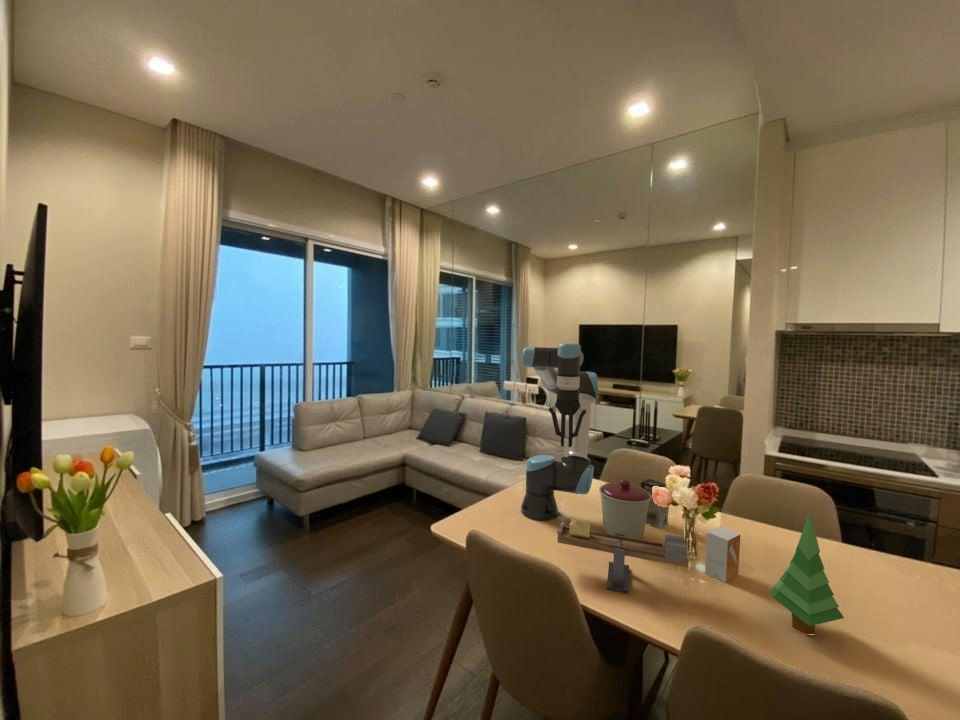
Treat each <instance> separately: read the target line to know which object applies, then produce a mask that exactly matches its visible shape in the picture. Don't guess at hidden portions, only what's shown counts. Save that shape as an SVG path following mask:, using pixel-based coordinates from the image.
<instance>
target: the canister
mask: <svg viewBox="0 0 960 720" xmlns="http://www.w3.org/2000/svg"><path fill="white" fill-rule="evenodd" d="M598 491H599V493H600V499H601V513H602V521H603V528H604V532H605V533H606V534H612V535H615V532H617V533H623V534H625V537H629V538H635V539H640V540H642V538H643V536H644V532H645V528H646V518H647V512H648V506H649V501H650V500H651V498H652V496H651V494H650V493H649V492H648V491H646V490H645V489H644V488H642V487H641V485H640V486H639V485H637V484H634V483H631V481H629V480H628V479H626V478H625V479H621V480H620V481H614V482H608V483H605V484H603V485H600V487H599V489H598Z"/></svg>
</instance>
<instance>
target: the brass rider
mask: <svg viewBox="0 0 960 720" xmlns="http://www.w3.org/2000/svg"><path fill="white" fill-rule="evenodd" d="M591 526H592V522H590V521H583V520H578V519H573V518H572V519H571V520H570V523H569V527H570V529H569V537H574V538H579V539H585V540H590V536H591V531H592V527H591Z"/></svg>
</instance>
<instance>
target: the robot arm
mask: <svg viewBox="0 0 960 720" xmlns="http://www.w3.org/2000/svg"><path fill="white" fill-rule="evenodd" d="M584 357H585V356H584V353H583V352H582V350H581V345H580V344H579V343H572V342H569V343H567V342H566V343H565V342H564V343H559V344H558V346H557V347H541V346H538V347H537V346H529V347H524V348H523V349H522V354H521V361H522V363H521V364H522V365H523V366H524V367H526V368H533V369H534V371H535V372H536V373H537V375H538V377H539V378H540V384H541V385H542V386H543V387H544V388H545V389H546V390H547V391H549V392H550V393H552V394H554V395H556V400H555V403H554V405H552V406H550V407H548V412H549V413H550V414H551V418H552V423H553V428H554V432H555V433H554V434H555V435H556V436H558V437H560V447H563V455H562V456H561V461H559V460H556V457H555V456H553V455H549V454H548V455H547V454H541V455H539V454H538V455H534V456H531V457H529V458H528V459H527V460H526V468H525V494H524V497H523V499H522V502H521V506H520V513H521V514H522V515H523V516H525V517H527V518H528V519H533V520H537V521H546V520H547V521H548V520H552V519H553V520H554V519H555V518H556V517H557V516H558V515H559V508H558V504H557V500H556V497H555V491H556V492H557V491H558V492H564V493H571V494H575V495H587V494H589V492H590V490H591V487H592V484H593V483H592V482H593V479H594V470H595V467H594V465H593V464H591V460H590V458H589V457H588V448H589V438H590V437H589V435H590V425H591V424H590V422H591V414H592V413H591V412H592V411H591V410H592V405H593V404H595V402H596V399H599V398H600V394H599V383H598V375H597V373H595V372H592V371H580V370H581V369H580V367H581V366H582V365H583V363H584ZM557 411H558V412H559V414H560V419H561V420H560V421H561V422H560V425H559V421H558V417H557ZM567 416H568V428H567V429H568V430H567V435H566V421H567V419H566V417H567Z"/></svg>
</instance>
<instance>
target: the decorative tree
mask: <svg viewBox="0 0 960 720" xmlns="http://www.w3.org/2000/svg"><path fill="white" fill-rule="evenodd" d="M806 518H807V519H806V521H805V524H804V527H803V530H802V533H801V535H800V538H799V540H798V543H797V546H796V548H795V553H794V554H793V557H792V558H791V561H790V562H789V564H788V566H787V568H786V569H785V571H784V573H783V574H782V575H781V576H780V577H779V580H778V581H777V582H776V583H775V584H774V587H772V588H771V589H769V592H770V595H771V597H772V599H774V600H775V601H777V603H779V604H780V605H782V606H783V607H784V608H785V609H787V610H788V611H789V612H790V613H791V622H792V623H791V627H793V628H794V629H796V630H798V631H800V632H802V633H804V634H815V635H816V626H817V625H821V624H826V623H829V622H833V621H838V620H842V619H845V616H844V615H843V614H842V612H841V611H840V610H839V608H840V606H839V604H838V603H837V601H836V599H835V598H834V595H835V593H834V592H833V590H832V589H831V586H830V585H829V583H830V581H829V579H828V577H827V574H826V573H825V567H824V563H823V561H822V557H821V555H820V552H821V549H820V546H819V543H818V538H817V535H816V531H815V527H814V524H813V519H812V516H811V512H808V515H807V517H806ZM793 628H792V629H793ZM794 629H793V630H794ZM796 630H795V631H796ZM798 631H797V632H798ZM800 632H799V633H800ZM802 633H801V634H802Z"/></svg>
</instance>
